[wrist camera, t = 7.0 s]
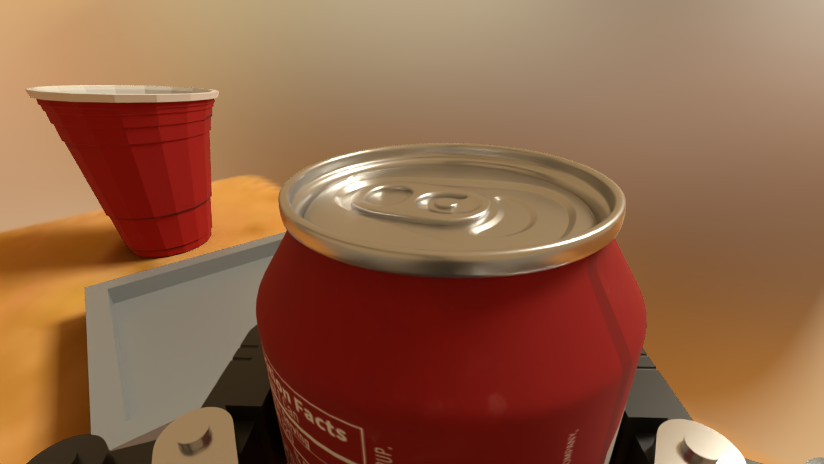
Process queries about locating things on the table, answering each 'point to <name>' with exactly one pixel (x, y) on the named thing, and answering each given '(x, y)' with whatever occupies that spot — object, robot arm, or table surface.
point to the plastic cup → (141, 158)
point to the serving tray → (168, 338)
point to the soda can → (450, 309)
